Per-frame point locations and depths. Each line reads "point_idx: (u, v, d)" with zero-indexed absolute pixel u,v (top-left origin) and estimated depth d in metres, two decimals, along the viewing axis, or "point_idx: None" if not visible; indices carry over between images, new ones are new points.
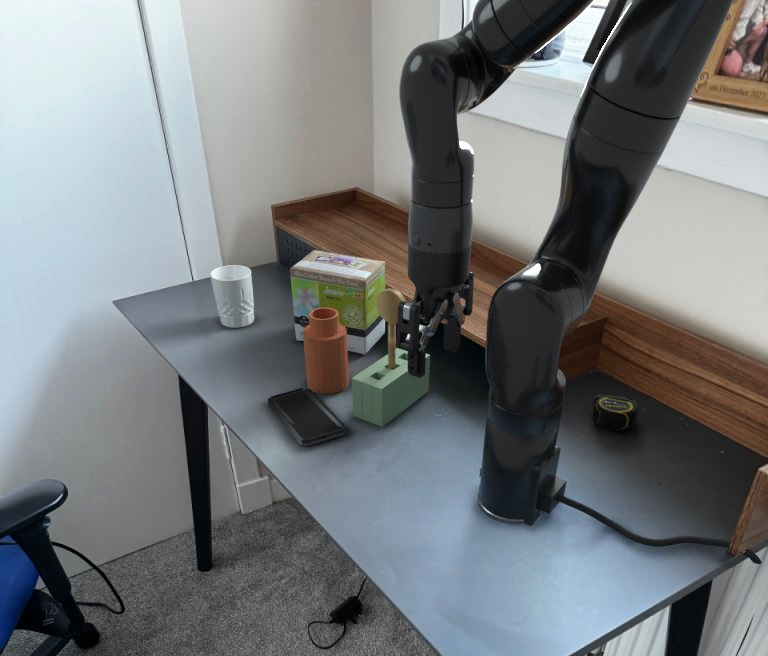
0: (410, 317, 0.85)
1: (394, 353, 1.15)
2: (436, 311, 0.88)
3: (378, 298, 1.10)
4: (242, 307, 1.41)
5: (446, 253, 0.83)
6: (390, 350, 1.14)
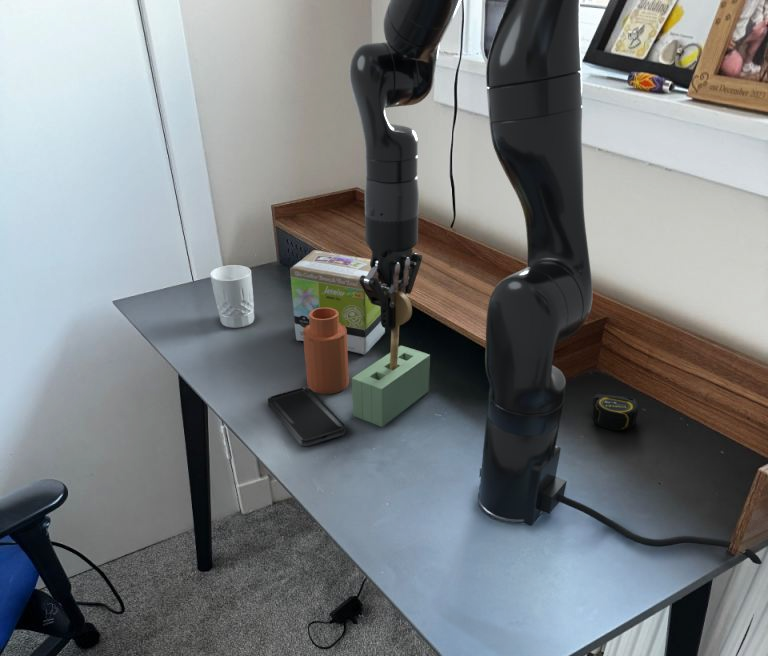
0: (371, 289, 1.03)
1: (396, 354, 1.15)
2: (392, 275, 1.05)
3: None
4: (242, 307, 1.41)
5: (396, 221, 0.99)
6: (392, 351, 1.14)
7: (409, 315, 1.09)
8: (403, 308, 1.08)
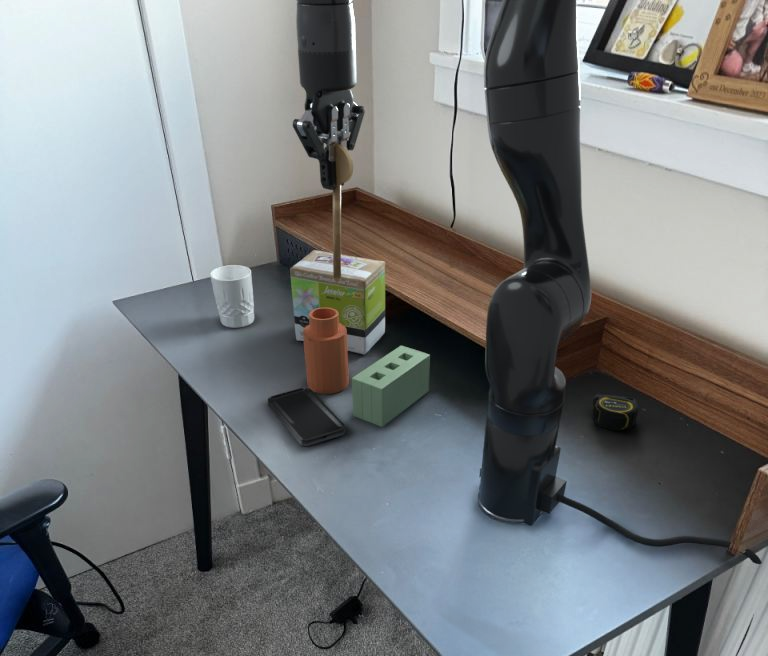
0: (306, 134, 0.95)
1: (339, 221, 1.07)
2: (329, 121, 0.96)
3: None
4: (242, 307, 1.41)
5: (329, 52, 0.90)
6: (335, 217, 1.06)
7: (350, 171, 1.01)
8: (343, 163, 1.00)
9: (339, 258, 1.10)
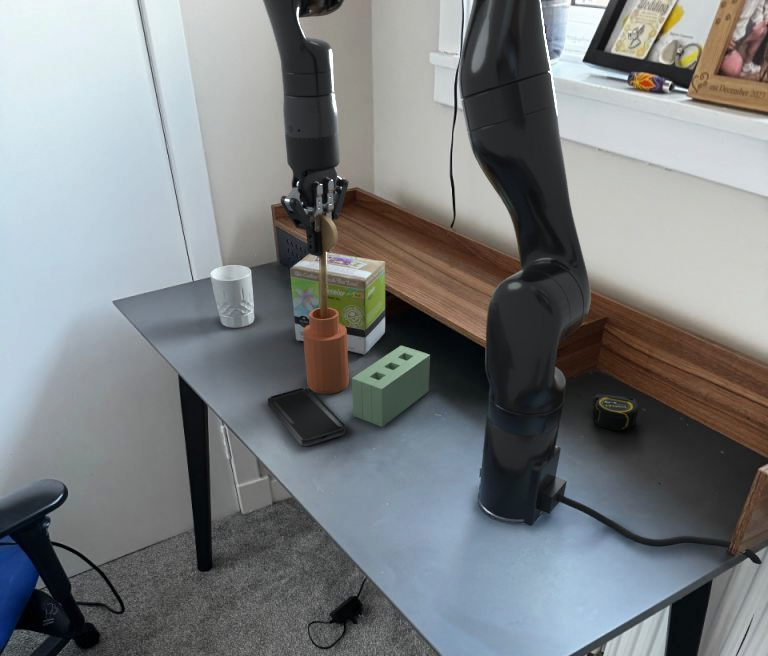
0: (293, 209, 1.03)
1: (325, 283, 1.14)
2: (315, 197, 1.04)
3: None
4: (242, 307, 1.41)
5: (313, 138, 0.98)
6: (321, 280, 1.14)
7: (335, 240, 1.09)
8: (328, 232, 1.08)
9: (326, 316, 1.18)
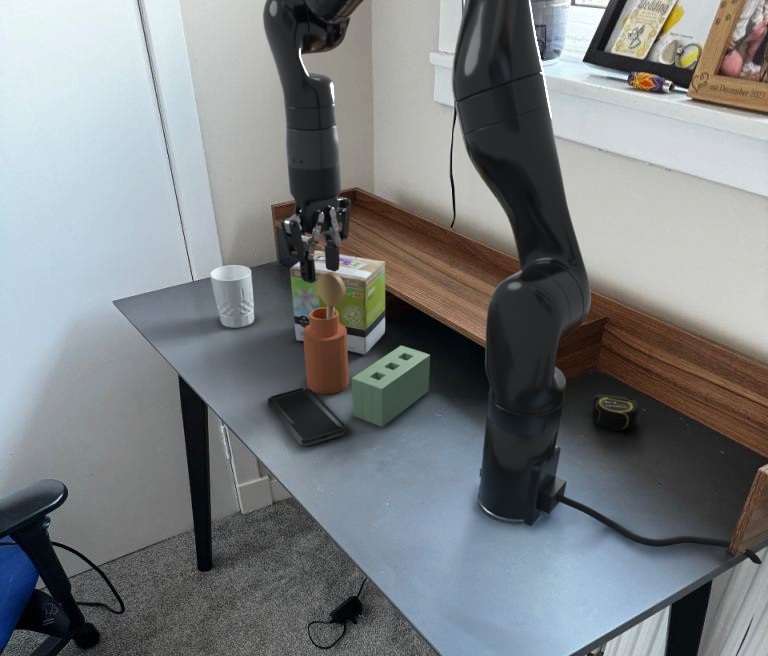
0: (291, 231, 1.04)
1: None
2: (315, 223, 1.06)
3: (319, 280, 1.14)
4: (242, 307, 1.41)
5: (315, 169, 1.01)
6: None
7: (343, 297, 1.14)
8: (337, 290, 1.13)
9: None
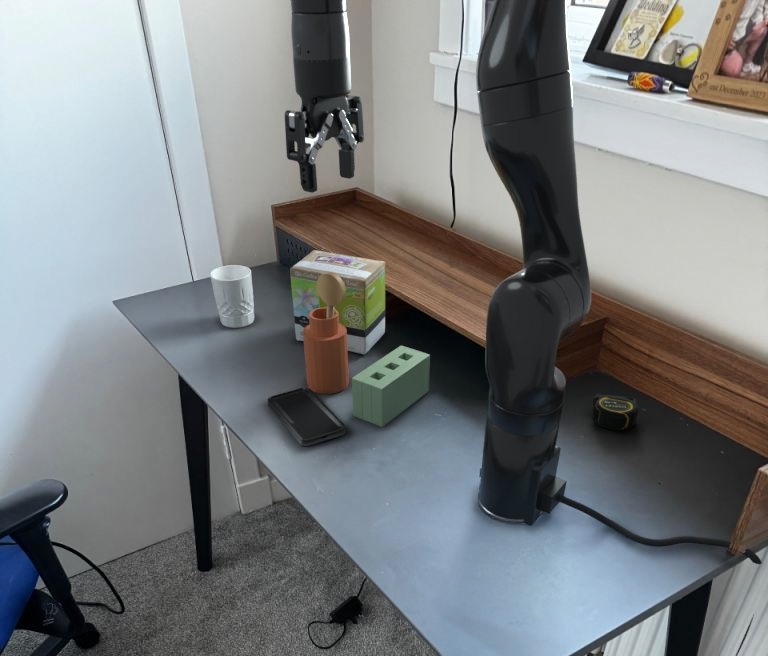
0: (295, 124, 0.94)
1: None
2: (322, 124, 0.97)
3: (319, 280, 1.14)
4: (242, 307, 1.41)
5: (324, 60, 0.92)
6: None
7: (343, 297, 1.14)
8: (337, 290, 1.13)
9: None
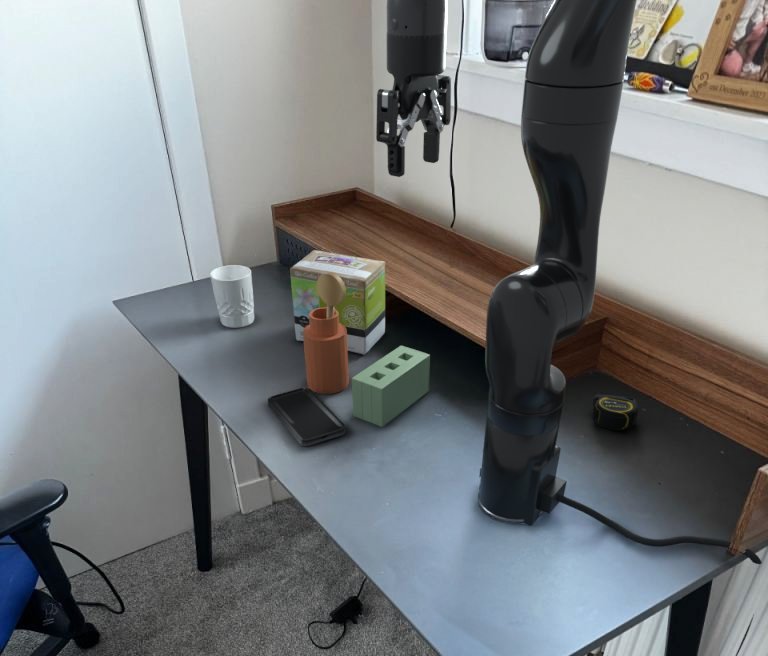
0: (388, 103, 0.90)
1: None
2: (414, 104, 0.93)
3: (319, 280, 1.14)
4: (242, 307, 1.41)
5: (422, 36, 0.87)
6: None
7: (343, 297, 1.14)
8: (337, 290, 1.13)
9: None
